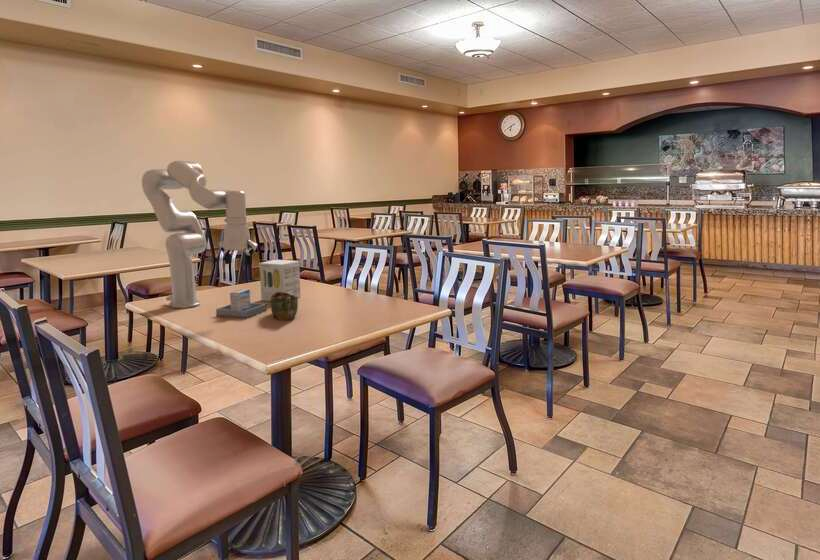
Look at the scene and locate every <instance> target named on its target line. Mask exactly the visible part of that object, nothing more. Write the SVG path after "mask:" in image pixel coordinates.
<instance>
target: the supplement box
mask: <svg viewBox="0 0 820 560" xmlns="http://www.w3.org/2000/svg"><path fill="white" fill-rule="evenodd" d="M300 273H301V272H300V261H299V260H292V259H291V260H289V259H273V260H267V261H262V262H259V274H260V275H259V277H260V296H261V297H260V298H261V301H266V302H267V301H268V302H270V297H271V295H272V294H274V293H276V292H285V293H288V294H290V295H296V296H297V298H298V299H299V298H301V274H300Z"/></svg>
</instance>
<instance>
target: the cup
mask: <svg viewBox="0 0 820 560" xmlns="http://www.w3.org/2000/svg"><path fill="white" fill-rule="evenodd" d="M298 299H299V298H297V296H296V295H290V294H288V293H285V292H276V293H274V294H272V295H271V297H270V301H269V302H270V309H271V314H272V315H273V318H274V319H275V320H278V321H291V320H294V319H295V318H296V315H297V313H298V306H299V300H298Z"/></svg>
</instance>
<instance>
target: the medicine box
mask: <svg viewBox="0 0 820 560" xmlns="http://www.w3.org/2000/svg"><path fill="white" fill-rule="evenodd" d="M229 298H230V299H229V300H230V304H231V310H241V311H247V310H249V309H251V303H252V302H251V291H250V289H244V288H243V289H242V288H241V289H239V290H235V291H232V292H230V293H229Z"/></svg>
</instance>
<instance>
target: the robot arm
mask: <svg viewBox="0 0 820 560" xmlns="http://www.w3.org/2000/svg"><path fill="white" fill-rule="evenodd" d="M206 178H207V177H206V176H205V175H204V171H203V168H202V166H201V165H200V164H199V163H198V162H196V161H190V160H174V161H172V162H170V163H169V164H168V165H167V167H166V169H164V168H163V169H162V168H161V169H160V168H155V169H154V168H151V169H148V170H147V171H145V172H144V173H143V175H142V179H141V186H142V187H141V188H142V191H143V193H144V195H145V197H146V198H147V201H149V203H150V205H151V207H152V209H153V211H154V214H155V216H156V218H157V220H158V224H159V225H160V227H161V229H162V230H163V231H164V232H165V233H172V234H171V235H169V236H168V237H167V238H166V239H165V243H164V244H165V249H166V252H167V257H168V261H169V271H170V283H171V285H170V286H171V294H169V295H167V296H166V297H165V299H166V301H170V302H169V304H168V307H170V308H171V309H189V308H194V307H197V306H200V305H201V301H200V300H198V299H197V293H196V292H197V291H196V279H195V278H196V276H195V266H194V261H193V260H192V259H191V257H190V255H195V254H201V253H203V252H205V250H206V249H207V238H206V236H205V234H204V231H203V228H202V226H201V224H200V222H199V219H198V218H197V216H196V214H195V213H194V212H193V211H190V210H188V209H187V210H186V209H177V207H176V206H175V204H174V201H173V199H172V197H170V196H169V194H167V193H166V191H164V190H181V189H186V190H188V193H189V196H190V197H191V199H192V200H193V201H194V202H195V203H196V204H198V205H199V206H201V208H202V207H203V208H204V209H207V210H219V209H221V210H222V209H225V214H226V215H225V217H226V218H224V223H226V224H225V225H224V229H223V240H221V241H220V242H218V247H219V248H220V251H222V254H223V255H224V262H225V265H229V264H232V254H231V252H232V251H237V252H238V251H239V252H242V251H243V252H244V253H245V254H246V255H245V265H246V266H252V265H253V255H254V253H255V252H256V250H257V248H258V244H257V243H256V242H254V241H252V240H251V235H250V234H251V233H250V229H249V225H248V224H247V208H246V206H247V205H246V204H247V203H246V194H245V193H246V192H245V191H244V190H231V189H229V190H228V189H208V188H206V185H207V179H206ZM173 233H174V234H173Z"/></svg>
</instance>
